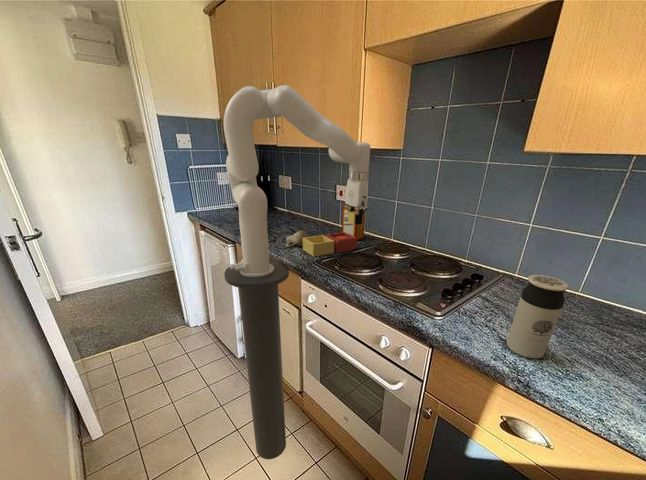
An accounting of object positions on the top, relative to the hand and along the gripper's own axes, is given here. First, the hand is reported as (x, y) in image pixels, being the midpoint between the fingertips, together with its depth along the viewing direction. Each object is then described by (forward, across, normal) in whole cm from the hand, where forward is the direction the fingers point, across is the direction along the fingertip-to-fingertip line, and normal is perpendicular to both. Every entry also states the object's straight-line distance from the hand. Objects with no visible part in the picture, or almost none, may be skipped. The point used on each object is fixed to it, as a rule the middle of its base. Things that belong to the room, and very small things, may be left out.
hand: (355, 222), depth 125 cm
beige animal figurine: (+15, -23, -16) cm, 32 cm away
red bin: (+14, -11, +1) cm, 18 cm away
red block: (+14, -11, +1) cm, 18 cm away
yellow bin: (+15, -11, -11) cm, 21 cm away
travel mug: (+15, +74, 0) cm, 76 cm away
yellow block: (0, 0, 0) cm, 0 cm away
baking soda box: (+14, -22, +15) cm, 30 cm away
